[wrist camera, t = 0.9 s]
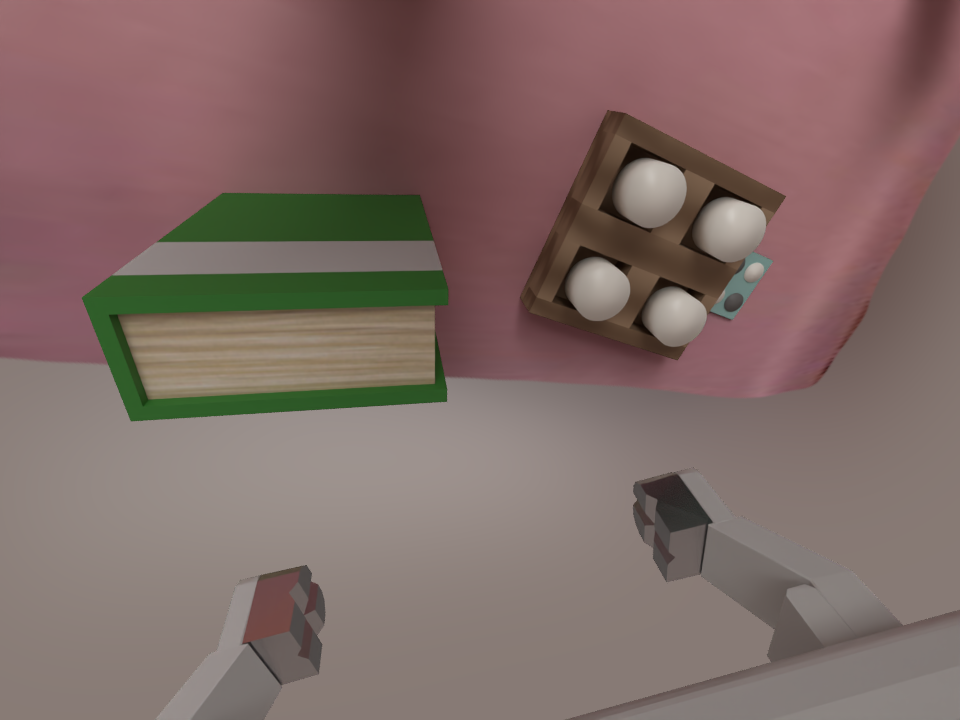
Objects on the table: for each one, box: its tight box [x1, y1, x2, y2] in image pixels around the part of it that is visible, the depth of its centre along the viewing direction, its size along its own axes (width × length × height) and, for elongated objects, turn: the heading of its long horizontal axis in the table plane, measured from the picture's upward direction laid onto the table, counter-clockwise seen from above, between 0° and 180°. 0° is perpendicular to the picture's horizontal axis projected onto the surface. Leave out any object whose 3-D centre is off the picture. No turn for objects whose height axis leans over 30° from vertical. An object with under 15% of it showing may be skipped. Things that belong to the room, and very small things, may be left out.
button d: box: [642, 286, 707, 347], centre depth 52 cm, size 6×6×3 cm
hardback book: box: [82, 193, 448, 421], centre depth 37 cm, size 18×7×24 cm, turn 88°
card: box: [710, 252, 773, 320], centre depth 57 cm, size 8×6×1 cm
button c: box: [692, 197, 766, 262], centre depth 48 cm, size 6×6×3 cm
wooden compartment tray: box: [520, 110, 786, 360], centre depth 51 cm, size 20×20×4 cm
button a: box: [612, 158, 687, 228], centre depth 45 cm, size 6×6×3 cm
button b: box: [565, 257, 630, 321], centre depth 49 cm, size 6×6×3 cm
